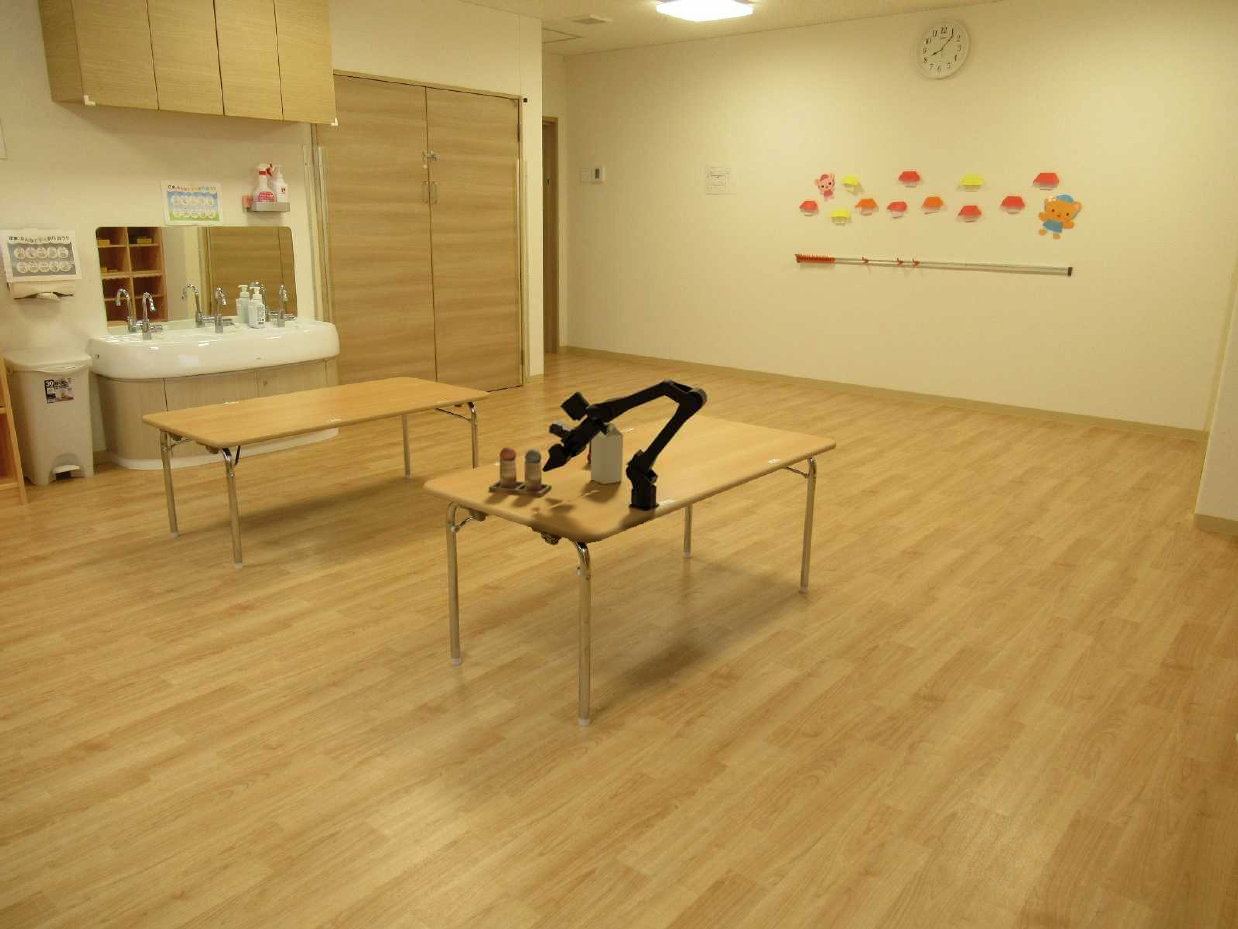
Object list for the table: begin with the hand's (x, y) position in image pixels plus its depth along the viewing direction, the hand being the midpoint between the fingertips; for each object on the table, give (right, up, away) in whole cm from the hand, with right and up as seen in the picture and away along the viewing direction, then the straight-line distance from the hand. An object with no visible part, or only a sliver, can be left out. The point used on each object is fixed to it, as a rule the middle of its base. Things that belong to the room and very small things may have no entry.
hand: (549, 466), depth 263 cm
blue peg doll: (-5, -7, +3) cm, 9 cm away
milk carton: (+16, -5, +19) cm, 26 cm away
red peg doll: (-13, -6, +5) cm, 15 cm away
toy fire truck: (+15, +1, +39) cm, 42 cm away
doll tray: (-9, -8, +5) cm, 13 cm away
